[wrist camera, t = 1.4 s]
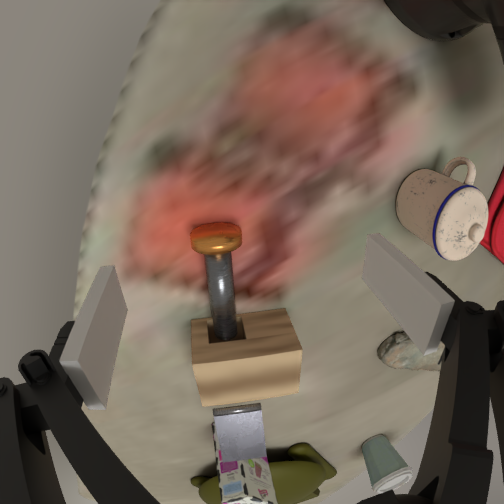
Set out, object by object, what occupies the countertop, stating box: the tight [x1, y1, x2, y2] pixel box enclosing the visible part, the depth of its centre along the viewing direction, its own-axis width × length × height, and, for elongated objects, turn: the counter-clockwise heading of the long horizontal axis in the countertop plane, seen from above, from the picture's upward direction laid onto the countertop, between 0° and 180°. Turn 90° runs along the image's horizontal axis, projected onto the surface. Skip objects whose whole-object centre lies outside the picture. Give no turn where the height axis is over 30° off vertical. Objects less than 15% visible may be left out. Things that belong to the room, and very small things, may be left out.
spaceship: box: [191, 443, 337, 504], centre depth 61 cm, size 35×31×10 cm
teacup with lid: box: [396, 157, 488, 261], centre depth 32 cm, size 12×9×12 cm
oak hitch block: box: [191, 308, 303, 407], centre depth 39 cm, size 8×12×8 cm, turn 92°
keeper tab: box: [213, 403, 267, 462], centre depth 37 cm, size 9×6×1 cm
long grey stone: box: [378, 331, 445, 371], centre depth 52 cm, size 35×5×10 cm
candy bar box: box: [212, 422, 278, 504], centre depth 46 cm, size 11×5×16 cm, turn 30°
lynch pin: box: [190, 223, 242, 340], centre depth 35 cm, size 13×5×5 cm, turn 2°
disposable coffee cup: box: [362, 435, 413, 494], centre depth 60 cm, size 11×11×15 cm
